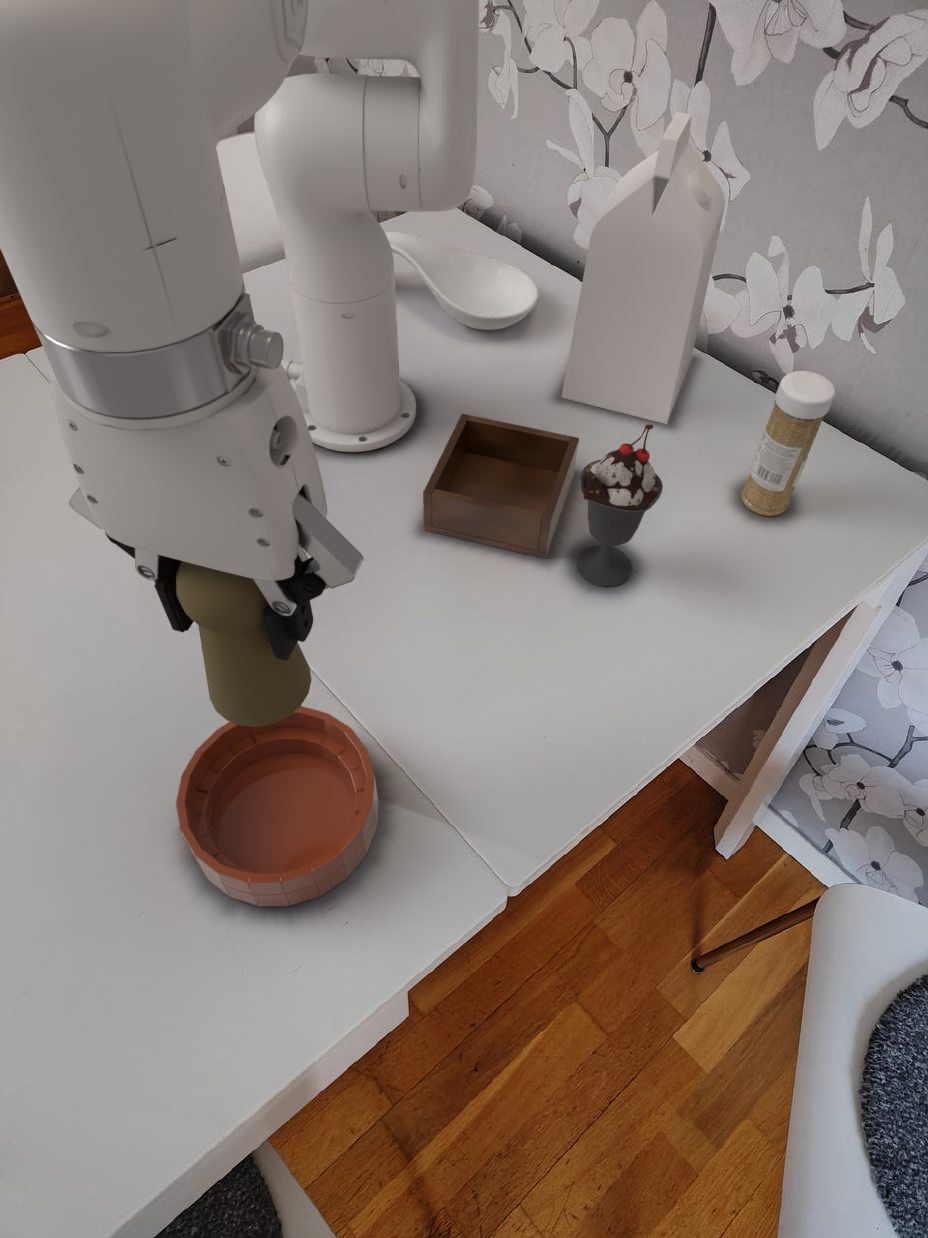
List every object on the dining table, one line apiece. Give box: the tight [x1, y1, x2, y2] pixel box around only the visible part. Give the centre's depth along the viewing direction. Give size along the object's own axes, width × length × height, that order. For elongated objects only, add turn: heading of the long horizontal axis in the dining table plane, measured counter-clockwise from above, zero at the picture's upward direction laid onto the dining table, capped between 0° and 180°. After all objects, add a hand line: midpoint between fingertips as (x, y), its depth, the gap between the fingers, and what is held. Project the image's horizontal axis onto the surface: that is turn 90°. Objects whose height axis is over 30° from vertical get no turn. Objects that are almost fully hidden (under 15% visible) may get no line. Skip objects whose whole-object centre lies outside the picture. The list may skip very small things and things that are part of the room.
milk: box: [561, 111, 726, 425], centre depth 85 cm, size 12×12×26 cm
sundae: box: [575, 424, 664, 587], centre depth 72 cm, size 7×7×15 cm
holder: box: [422, 413, 580, 559], centre depth 81 cm, size 12×12×5 cm
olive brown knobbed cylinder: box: [176, 561, 312, 727], centre depth 47 cm, size 6×6×11 cm
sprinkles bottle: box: [741, 370, 836, 517], centre depth 78 cm, size 5×5×13 cm
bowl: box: [175, 705, 379, 907], centre depth 61 cm, size 13×13×4 cm
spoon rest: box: [384, 231, 540, 331], centre depth 101 cm, size 24×12×7 cm, turn 69°
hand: (242, 623), depth 47 cm, fingers closed on olive brown knobbed cylinder, 5 cm apart
